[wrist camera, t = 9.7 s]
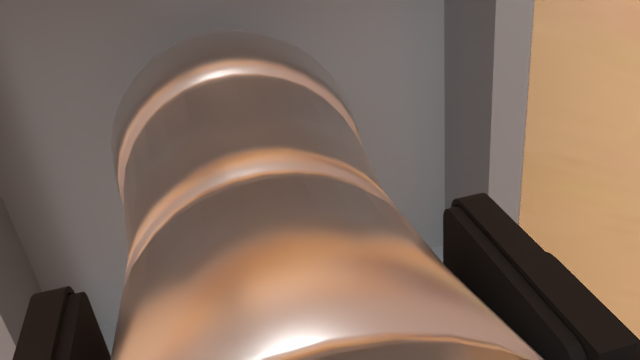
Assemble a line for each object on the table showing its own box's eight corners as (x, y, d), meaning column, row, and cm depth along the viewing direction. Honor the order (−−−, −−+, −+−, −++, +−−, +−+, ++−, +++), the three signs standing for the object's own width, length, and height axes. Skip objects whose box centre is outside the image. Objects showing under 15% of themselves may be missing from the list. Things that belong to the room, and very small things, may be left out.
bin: (-194, -173, 15) (-317, -188, 11) (467, -238, 18) (553, -269, 14) (42, 348, 24) (20, 442, 20) (460, 248, 26) (512, 313, 23)
